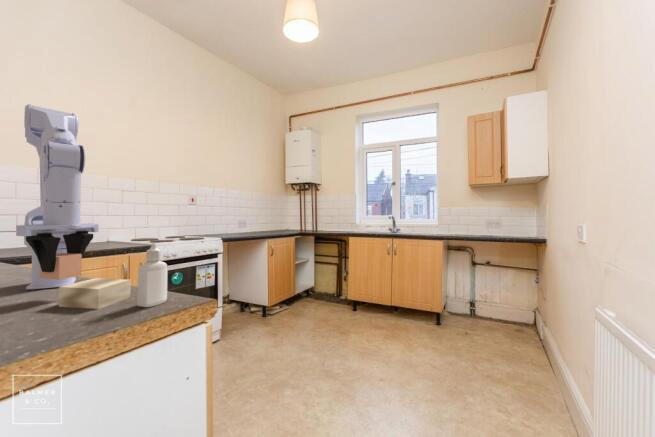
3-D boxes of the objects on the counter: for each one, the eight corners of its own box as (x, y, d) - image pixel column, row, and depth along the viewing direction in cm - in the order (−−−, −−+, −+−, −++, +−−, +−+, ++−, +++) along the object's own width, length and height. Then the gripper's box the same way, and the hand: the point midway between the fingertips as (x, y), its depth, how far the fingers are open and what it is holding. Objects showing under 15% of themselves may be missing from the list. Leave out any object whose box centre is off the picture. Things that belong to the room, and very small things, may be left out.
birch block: (58, 308, 57) (59, 286, 57) (95, 296, 65) (95, 278, 65) (98, 310, 56) (98, 288, 56) (130, 298, 64) (130, 279, 64)
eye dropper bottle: (171, 303, 60) (173, 243, 60) (139, 309, 56) (141, 244, 56) (163, 298, 63) (165, 241, 63) (133, 304, 59) (134, 243, 59)
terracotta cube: (39, 278, 60) (40, 255, 60) (63, 273, 64) (63, 252, 64) (59, 279, 59) (59, 256, 59) (81, 275, 63) (81, 253, 63)
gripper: (39, 201, 54) (38, 277, 54) (110, 204, 68) (109, 264, 68) (7, 200, 55) (5, 275, 55) (83, 203, 69) (82, 263, 69)
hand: (61, 269), depth 62 cm, fingers closed on terracotta cube, 4 cm apart
